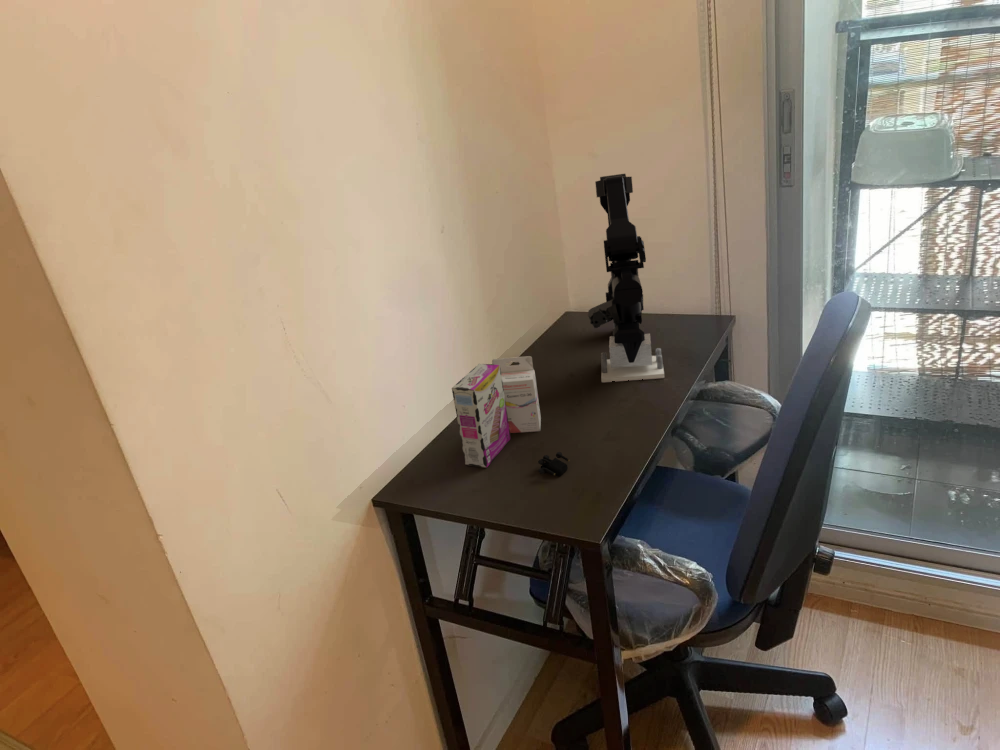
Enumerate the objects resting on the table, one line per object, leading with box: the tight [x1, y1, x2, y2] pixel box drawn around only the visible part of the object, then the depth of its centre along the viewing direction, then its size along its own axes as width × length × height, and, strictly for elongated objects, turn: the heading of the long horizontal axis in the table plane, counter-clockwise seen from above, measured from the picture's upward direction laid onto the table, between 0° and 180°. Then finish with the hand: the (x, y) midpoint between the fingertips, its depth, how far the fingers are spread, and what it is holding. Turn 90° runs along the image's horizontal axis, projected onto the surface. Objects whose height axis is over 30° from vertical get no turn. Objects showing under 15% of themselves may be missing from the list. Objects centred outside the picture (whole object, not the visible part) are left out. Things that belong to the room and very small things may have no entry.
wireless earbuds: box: [537, 451, 570, 477], centre depth 125 cm, size 7×2×5 cm
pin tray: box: [600, 347, 665, 383], centre depth 156 cm, size 10×14×4 cm
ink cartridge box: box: [491, 355, 542, 434], centre depth 138 cm, size 9×5×15 cm, turn 84°
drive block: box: [608, 333, 653, 368], centre depth 155 cm, size 6×9×5 cm, turn 80°
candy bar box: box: [451, 363, 511, 469], centre depth 131 cm, size 11×5×16 cm, turn 155°
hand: (631, 356), depth 156 cm, fingers closed on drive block, 6 cm apart
